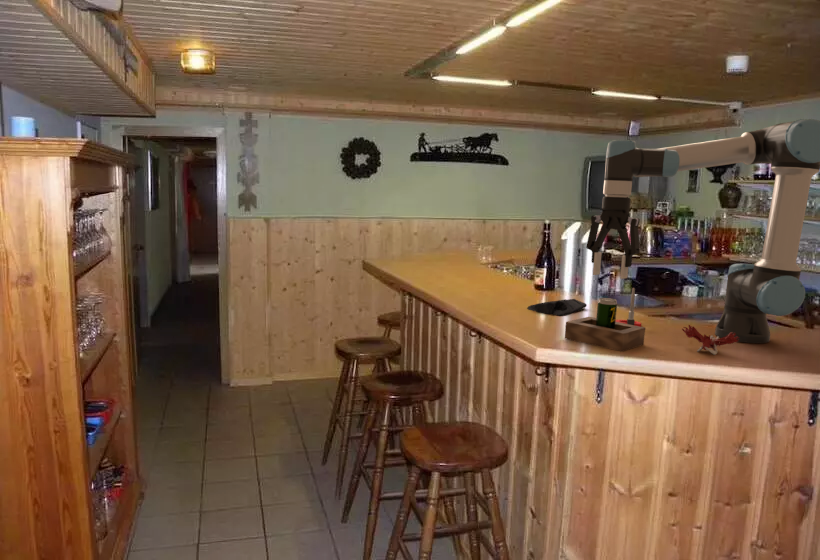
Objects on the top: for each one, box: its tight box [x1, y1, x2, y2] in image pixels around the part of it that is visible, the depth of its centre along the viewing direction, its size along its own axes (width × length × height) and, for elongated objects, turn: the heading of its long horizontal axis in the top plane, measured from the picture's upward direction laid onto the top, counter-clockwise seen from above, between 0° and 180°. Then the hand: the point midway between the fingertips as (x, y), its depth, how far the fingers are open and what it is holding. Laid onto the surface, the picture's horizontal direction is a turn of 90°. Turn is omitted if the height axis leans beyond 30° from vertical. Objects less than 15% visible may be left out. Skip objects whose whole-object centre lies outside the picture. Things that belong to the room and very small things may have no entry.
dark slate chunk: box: [527, 298, 587, 317], centre depth 230 cm, size 15×22×5 cm
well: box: [564, 316, 646, 352], centre depth 183 cm, size 18×13×5 cm
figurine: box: [681, 324, 739, 356], centre depth 176 cm, size 15×12×7 cm
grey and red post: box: [616, 287, 642, 327], centre depth 208 cm, size 8×13×9 cm
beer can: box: [595, 297, 618, 329], centre depth 183 cm, size 5×5×12 cm
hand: (609, 276), depth 181 cm, fingers open, 8 cm apart
